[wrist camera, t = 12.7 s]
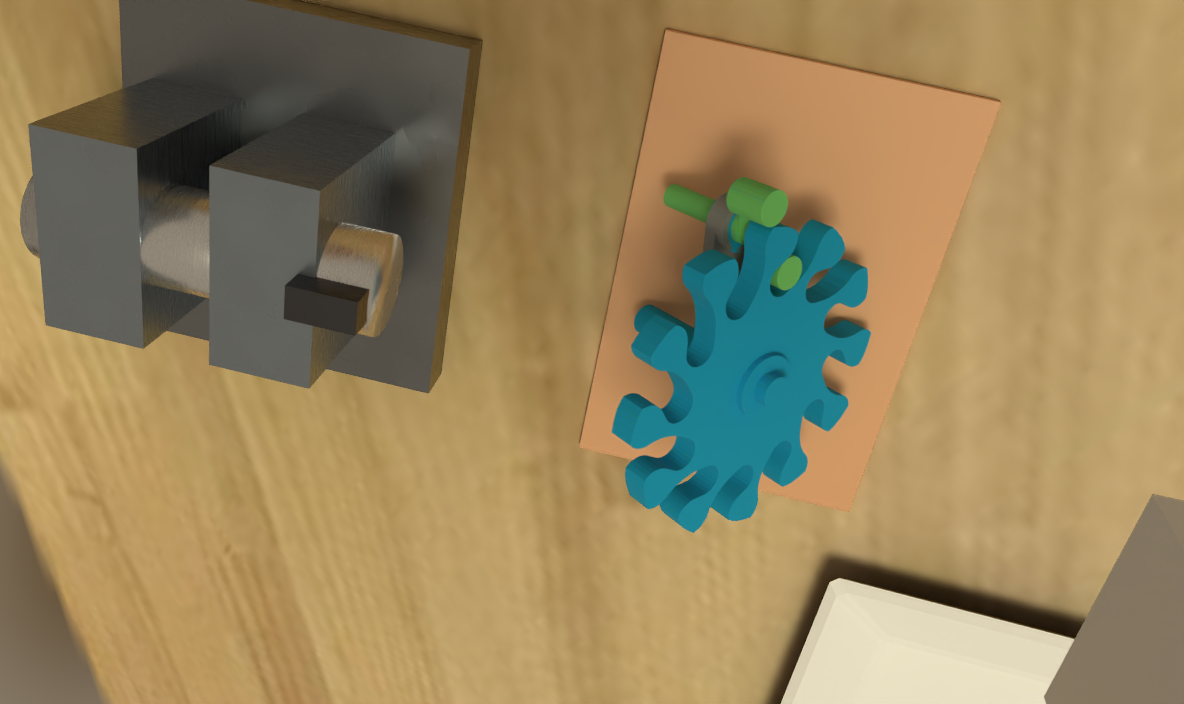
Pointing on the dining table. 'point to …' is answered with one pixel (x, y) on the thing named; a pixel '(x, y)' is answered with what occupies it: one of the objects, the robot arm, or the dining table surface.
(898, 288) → the pad
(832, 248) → the gear
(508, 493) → the dining table surface
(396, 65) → the shaft stand
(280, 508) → the dining table surface
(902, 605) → the white square picture frame
